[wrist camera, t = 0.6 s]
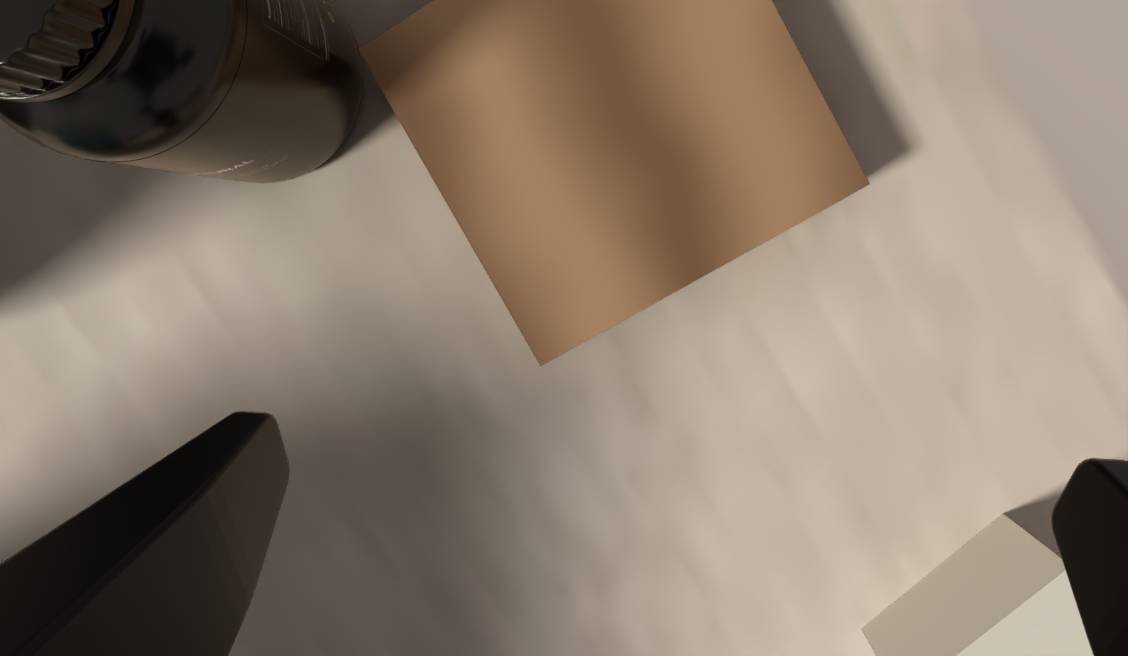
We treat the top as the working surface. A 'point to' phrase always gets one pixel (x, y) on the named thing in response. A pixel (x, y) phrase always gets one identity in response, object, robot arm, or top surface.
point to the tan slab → (611, 144)
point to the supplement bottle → (182, 83)
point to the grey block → (986, 603)
